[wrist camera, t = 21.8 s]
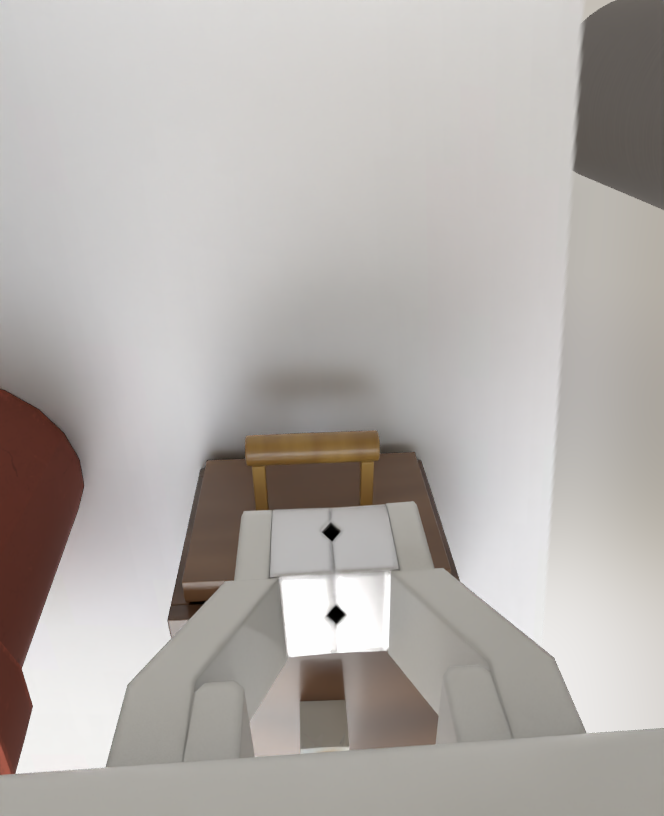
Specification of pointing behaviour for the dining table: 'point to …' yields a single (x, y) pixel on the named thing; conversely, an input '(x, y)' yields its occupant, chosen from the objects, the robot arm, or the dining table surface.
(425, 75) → the dining table surface
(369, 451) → the drawer
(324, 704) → the cube with dark pebbles
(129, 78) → the dining table surface
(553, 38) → the dining table surface
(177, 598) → the dresser
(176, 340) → the dining table surface
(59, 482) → the potted plant
